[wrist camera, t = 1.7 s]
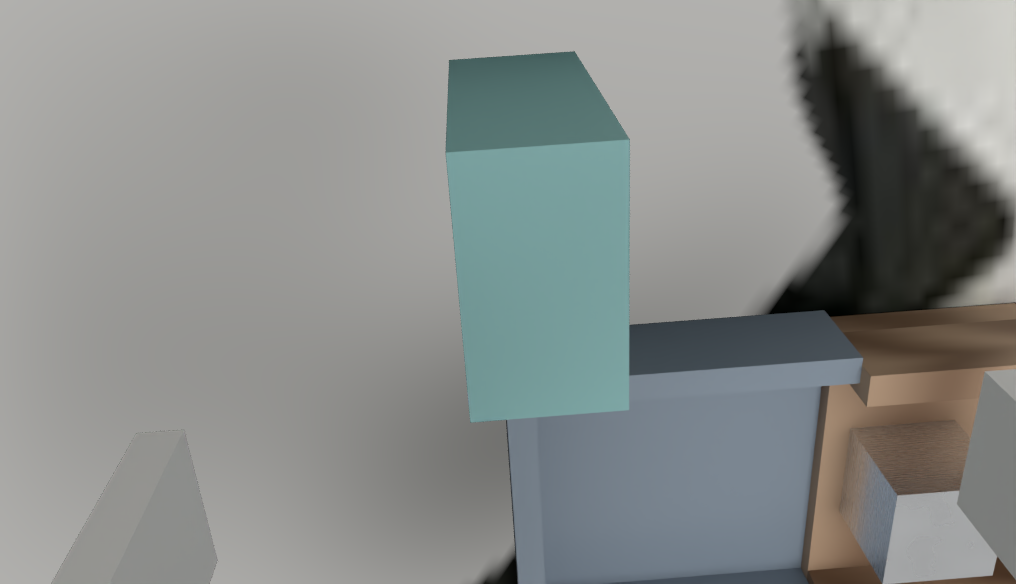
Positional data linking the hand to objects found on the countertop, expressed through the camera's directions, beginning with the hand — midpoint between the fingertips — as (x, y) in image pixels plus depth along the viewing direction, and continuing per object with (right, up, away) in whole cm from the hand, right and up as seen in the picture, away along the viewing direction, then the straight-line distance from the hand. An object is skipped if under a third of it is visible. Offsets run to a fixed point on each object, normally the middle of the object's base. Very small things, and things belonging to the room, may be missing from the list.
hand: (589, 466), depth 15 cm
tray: (+5, -4, +21) cm, 22 cm away
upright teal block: (-1, +7, +15) cm, 17 cm away
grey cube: (+14, -4, +20) cm, 24 cm away
